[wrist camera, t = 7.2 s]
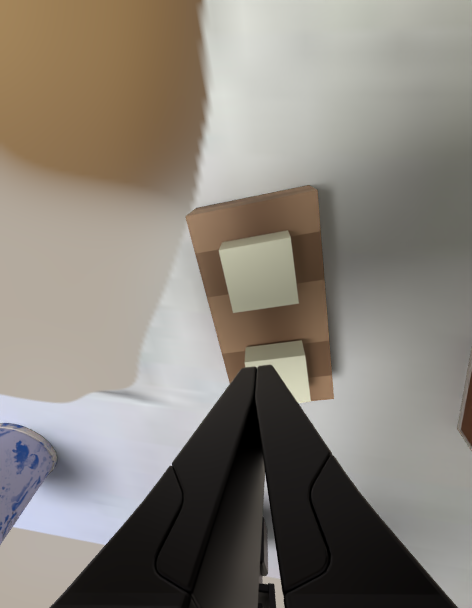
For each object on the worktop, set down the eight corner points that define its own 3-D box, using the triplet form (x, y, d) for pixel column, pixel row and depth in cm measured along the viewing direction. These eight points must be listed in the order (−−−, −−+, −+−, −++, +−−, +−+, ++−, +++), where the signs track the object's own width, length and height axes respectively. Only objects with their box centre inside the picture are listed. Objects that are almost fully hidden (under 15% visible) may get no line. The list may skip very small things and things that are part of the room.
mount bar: (239, 380, 25) (236, 407, 22) (196, 208, 19) (185, 216, 16) (325, 371, 24) (333, 398, 21) (308, 185, 18) (317, 190, 15)
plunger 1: (238, 281, 21) (233, 313, 16) (227, 230, 19) (218, 250, 15) (290, 273, 20) (298, 303, 16) (283, 219, 19) (290, 237, 14)
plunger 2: (255, 362, 24) (254, 406, 19) (247, 323, 22) (244, 362, 18) (301, 357, 23) (311, 401, 19) (296, 316, 21) (305, 355, 17)
